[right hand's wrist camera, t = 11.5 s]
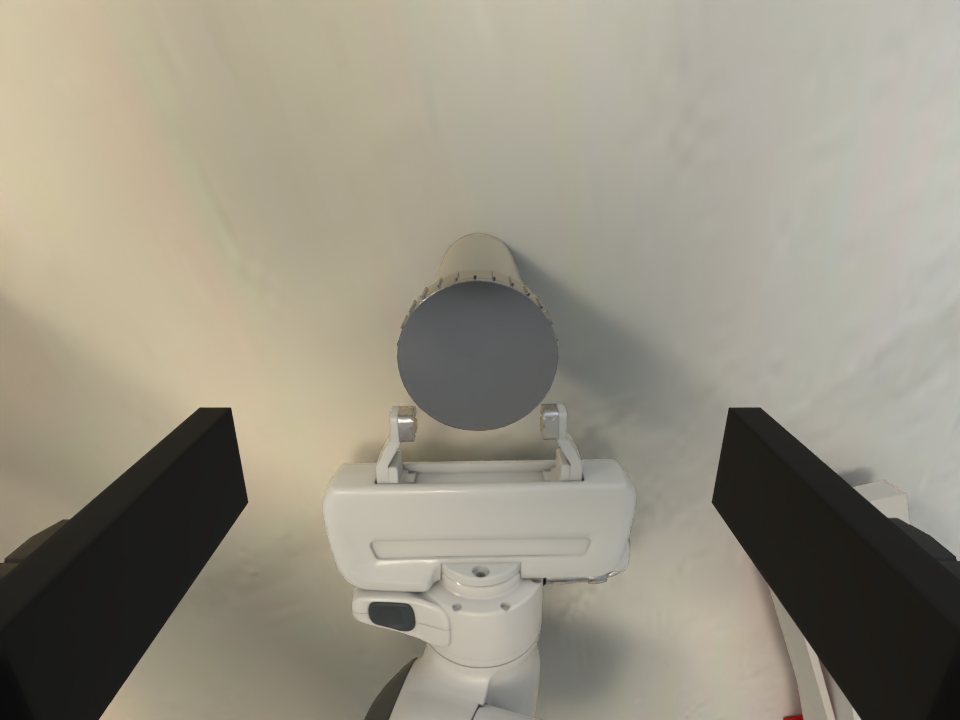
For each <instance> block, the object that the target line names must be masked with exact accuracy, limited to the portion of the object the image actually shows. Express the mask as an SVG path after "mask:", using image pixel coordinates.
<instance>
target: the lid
mask: <svg viewBox="0 0 960 720" xmlns="http://www.w3.org/2000/svg"><path fill="white" fill-rule="evenodd" d="M409 312H410V314H409V316H406V318H405V320H404V322H403V324H402V326H401V328H402V332H401V335H400V338H399V341H398V343H397V346H398V352H397V359H398V368H399V372H400V376H401V379H402V382H403V384H404V386H405V388H406V390H407V392H408V394H409V395H410V396H411V398H412V399H413V401H414V402H415V403H416V404H417V405H418V406H419V407H420V408H421V409H422V410H423V411H424V412H426V413H427V414H428V415H429V416H431V417H432V418H434V419H436V420H437V421H439V422H441V423H444V424H446V425H448V426H451V427H454V428H458V429H463V430H472V431H485V430H492V429H497V428H501V427H504V426H507V425H509V424H512V423H514V422H516V421H518V420H520V419H522V418H523V417H525V416H526V415H527V414H529V413H530V412H531V411H532V410H533V409H534V408H535V407H537V406H538V404H539V403H540V402H541V401H542V400H543V398H544V397H545V395H546V394H547V392H548V391H549V389H550V387H551V385H552V382H553V380H554V377H555V373H556V369H557V362H558V349H557V341H558V340H557V337H556V335H555V332H554V330H553V328H552V326H551V324H553V323H552V321H551V318H550V316H549V314H548V312H547V311H546V312H545V310H544V307H543V305H542V303H541V300H540V298H539V297H537V298H536V297H535V295H534V294H533V293H532V292H531V291H530V290H529V289H528V286H527V285H526V284H525V285H523V284H521V283H520V282H519V281H517V280H515V279H513V277H512V275H509V276H507V275H504V274H501V273H498V272H495V270H494V269H492V271H488V270H477V268H474V270H467V271H461V272H459V271H456V273H454V274H451V275H449V276H446V277H444V278H442V277H440V278H439V280H438V281H437V282H436V283H434V284H432V285H431V286H430V287H429V288H427V287H426V288H425V289H424V291H423V293H422V295H421V296H420V297H419V298H418V300H417V301H415V300H414V302H413V304H412V306H411V308H410V310H409Z"/></svg>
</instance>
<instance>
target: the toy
mask: <svg viewBox="0 0 960 720" xmlns="http://www.w3.org/2000/svg"><path fill="white" fill-rule="evenodd" d="M853 488H854V489H855V490H856V491H857V492H858V493H860V494H861V495H862V496H863V497H864V498H865V499H867V500H868V501H869V502H870V503H871V504H872V505H874V506H875V507H876V508H877V509H878V510H879V511H881V512H882V513H883V514H884V515H885V516H886V517H887V518H899V519H901V520H902V521H904V522H906V523H908V524H910V521H909V512H908V502H907V494H906V493H905V492H903V491H901V490H900V489H898V488H897V487H895V486H893V485H892V484H890V483H889V482H887V481H885V480H882V481H878V482H873V483H868V484H864V485H859V486H855V487H853ZM768 586H769V585H768ZM769 590H770V593H771V596H772V600H773V603H774V606H775V609H776V613H777V616H778V619H779V623H780V626H781V629H782V633H783V636H784V639H785V643H786V646H787V649H788V653H789V656H790V659H791V663H792V666H793V669H794V673H795V676H796V679H797V685H798V690H799V696H800V702H801V708H802V714H803V715H799V716H793V717H787V718H784V720H861V718H860V717H859V716H858V714H857V713H856V711H855V710H854V708H853V707H852V705H851V704H850V703H849V701H848V700H847V698H846V697H845V695H844V694H843V692H842V691H841V689H840V688H839V687H838V685H837V684H836V682H835V681H834V679H833V678H832V676H831V675H830V673H829V672H828V671H827V669H826V668H825V666H824V665H823V663H822V662H821V660H820V659H819V657H818V656H817V655H816V653H815V652H814V650H813V649H812V647H811V646H810V644H809V643H808V642H807V640H806V639H805V637H804V636H803V634H802V633H801V631H800V630H799V628H798V627H797V626H796V624H795V623H794V621H793V620H792V618H791V617H790V615H789V614H788V612H787V611H786V610H785V608H784V607H783V605H782V604H781V602H780V601H779V599H778V598H777V596H776V595H775V594H774V592H773V591H772V589H771V588H770V586H769Z"/></svg>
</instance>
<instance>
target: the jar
mask: <svg viewBox="0 0 960 720" xmlns="http://www.w3.org/2000/svg"><path fill="white" fill-rule="evenodd" d="M474 268H477V270H488V271H492V269H494V270H495V272H498V273H501V274H504V275H507V276H509V275H512V277H513V279H515V280H517V281H519V282H520V283H521V284H523V283H522V280H521V277H520V274H519V272H518V269H517V266H516V263H515V261H514V258H513V256H512V253H511V252H510V250H509V249H508V247H507V246H506V245H505V244H504V243H503V242H502V241H500V240H499V239H497V238H495V237H493V236H491V235H487V234H480V233H479V234H470V235H467V236H464V237H462V238H460V239H459V240H457V241H456V242H455V243H453V244H452V245H451V247H450V248H449V249H448V251H447V252H446V254H445V256H444V259H443V261H442V264H441V267H440V269H439V272H438V274H437V277H436V279H435V282H434V283H436V282H437V281H438V280H439V278H440V277H442V278H444V277H446V276H449V275H451V274H454V273H456V271H459V272H461V271H467V270H474Z"/></svg>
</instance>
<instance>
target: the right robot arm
mask: <svg viewBox="0 0 960 720" xmlns="http://www.w3.org/2000/svg"><path fill="white" fill-rule="evenodd" d="M247 504H248V498H247V493H246V487H245V482H244V476H243V471H242V465H241V460H240V454H239V449H238V443H237V438H236V432H235V427H234V421H233V416H232V410H231V408H199V409H198V410H197V411H195V412H194V413H193V414H192V415H191V416H190V417H188V418H187V419H186V420H185V421H184V422H183V423H181V424H180V425H179V426H178V427H177V428H176V429H174V430H173V431H172V432H171V433H170V434H169V435H168V436H166V437H165V438H164V439H163V440H162V441H161V442H159V443H158V444H157V445H156V446H155V447H154V448H152V449H151V450H150V451H149V452H148V453H147V454H146V455H144V456H143V457H142V458H141V459H140V460H139V461H137V462H136V463H135V464H134V465H133V466H132V467H130V468H129V469H128V470H127V471H126V472H125V473H124V474H122V475H121V476H120V477H119V478H118V479H117V480H115V481H114V482H113V483H112V484H111V485H110V486H108V487H107V488H106V489H105V490H104V491H103V492H102V493H100V494H99V495H98V496H97V497H96V498H95V499H93V500H92V501H91V502H90V503H89V504H88V505H86V506H85V507H84V508H83V509H82V510H81V511H79V512H78V513H77V514H76V515H75V516H74V517H73V518H71V519H70V520H61V521H60V522H58V523H56V524H54V525H52V526H51V527H49V528H47V529H45V530H43V531H42V532H40V533H38V534H36V535H34V536H33V537H31V538H29V539H28V540H27V541H26V542H25V543H23V544H22V545H21V546H20V547H19V548H17V549H16V550H15V551H14V552H12V553H11V554H10V555H9V556H8V557H6V558H5V561H4V563H0V720H99V718H100V717H101V716H102V714H103V713H104V711H105V710H106V708H107V707H108V705H109V704H110V703H111V701H112V700H113V698H114V697H115V695H116V694H117V692H118V691H119V689H120V688H121V687H122V685H123V684H124V682H125V681H126V679H127V678H128V676H129V675H130V673H131V672H132V671H133V669H134V668H135V666H136V665H137V663H138V662H139V660H140V659H141V657H142V656H143V655H144V653H145V652H146V650H147V649H148V647H149V646H150V644H151V643H152V642H153V640H154V639H155V637H156V636H157V634H158V633H159V631H160V630H161V628H162V627H163V626H164V624H165V623H166V621H167V620H168V618H169V617H170V615H171V614H172V612H173V611H174V610H175V608H176V607H177V605H178V604H179V602H180V601H181V599H182V598H183V596H184V595H185V594H186V592H187V591H188V589H189V588H190V586H191V585H192V583H193V582H194V581H195V579H196V578H197V576H198V575H199V573H200V572H201V570H202V569H203V567H204V566H205V565H206V563H207V562H208V560H209V559H210V557H211V556H212V554H213V553H214V551H215V550H216V549H217V547H218V546H219V544H220V543H221V541H222V540H223V538H224V537H225V535H226V534H227V533H228V531H229V530H230V528H231V527H232V525H233V524H234V522H235V521H236V520H237V518H238V517H239V515H240V514H241V512H242V511H243V509H244V508H245V506H246V505H247ZM712 504H713V505H714V506H715V508H716V509H717V511H718V512H719V514H720V515H721V517H722V518H723V520H724V521H725V522H726V524H727V525H728V527H729V528H730V530H731V531H732V533H733V534H734V535H735V537H736V538H737V540H738V541H739V543H740V544H741V546H742V547H743V549H744V550H745V551H746V553H747V554H748V556H749V557H750V559H751V560H752V562H753V563H754V565H755V566H756V567H757V569H758V570H759V572H760V573H761V575H762V576H763V578H764V579H765V581H766V582H767V583H768V585H769V586H770V588H771V589H772V591H773V592H774V594H775V595H776V596H777V598H778V599H779V601H780V602H781V604H782V605H783V607H784V608H785V610H786V611H787V612H788V614H789V615H790V617H791V618H792V620H793V621H794V623H795V624H796V626H797V627H798V628H799V630H800V631H801V633H802V634H803V636H804V637H805V639H806V640H807V642H808V643H809V644H810V646H811V647H812V649H813V650H814V652H815V653H816V655H817V656H818V657H819V659H820V660H821V662H822V663H823V665H824V666H825V668H826V669H827V671H828V672H829V673H830V675H831V676H832V678H833V679H834V681H835V682H836V684H837V685H838V687H839V688H840V689H841V691H842V692H843V694H844V695H845V697H846V698H847V700H848V701H849V703H850V704H851V705H852V707H853V708H854V710H855V711H856V713H857V714H858V716H859V717H860V718H861V720H960V561H957V560H956V557H955V556H954V555H953V554H952V553H951V552H949V551H948V550H947V549H946V548H945V547H943V546H942V545H941V544H940V543H938V542H937V541H936V540H935V539H934V538H932V537H931V536H930V535H928V534H926V533H924V532H922V531H921V530H919V529H917V528H915V527H913V526H912V525H910V524H908V523H906V522H904V521H902V520H901V519H899V518H887V517H886V516H885V515H884V514H883V513H882V512H881V511H879V510H878V509H877V508H876V507H875V506H874V505H872V504H871V503H870V502H869V501H868V500H867V499H865V498H864V497H863V496H862V495H861V494H860V493H858V492H857V491H856V490H855V489H854V488H853V487H852V486H850V485H849V484H848V483H847V482H846V481H845V480H843V479H842V478H841V477H840V476H839V475H838V474H836V473H835V472H834V471H833V470H832V469H831V468H830V467H828V466H827V465H826V464H825V463H824V462H823V461H821V460H820V459H819V458H818V457H817V456H816V455H814V454H813V453H812V452H811V451H810V450H809V449H808V448H806V447H805V446H804V445H803V444H802V443H801V442H799V441H798V440H797V439H796V438H795V437H794V436H792V435H791V434H790V433H789V432H788V431H787V430H785V429H784V428H783V427H782V426H781V425H780V424H779V423H777V422H776V421H775V420H774V419H773V418H772V417H770V416H769V415H768V414H767V413H766V412H765V411H763V410H762V409H761V408H729V410H728V416H727V421H726V427H725V432H724V438H723V443H722V449H721V454H720V460H719V465H718V471H717V476H716V482H715V487H714V493H713V498H712Z"/></svg>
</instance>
